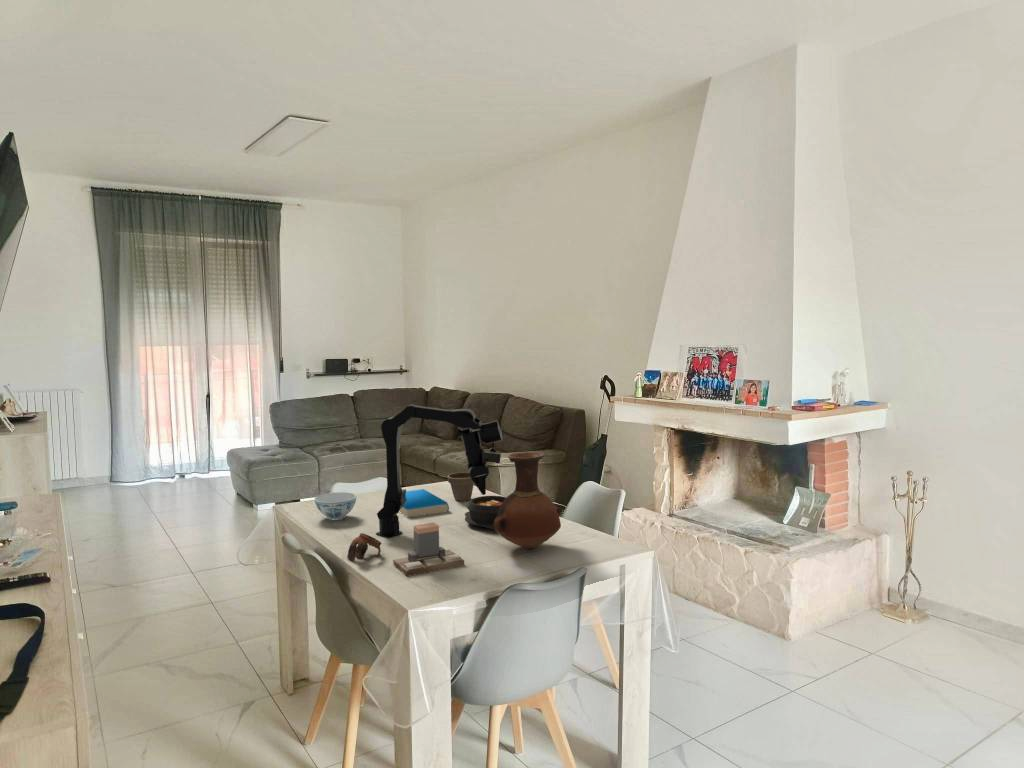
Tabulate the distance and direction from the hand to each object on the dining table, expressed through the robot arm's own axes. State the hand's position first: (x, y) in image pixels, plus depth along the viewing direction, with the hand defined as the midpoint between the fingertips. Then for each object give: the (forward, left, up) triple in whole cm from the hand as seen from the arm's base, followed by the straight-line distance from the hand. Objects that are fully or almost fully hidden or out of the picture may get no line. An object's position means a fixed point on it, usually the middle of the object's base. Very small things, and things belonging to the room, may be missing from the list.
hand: (483, 491), depth 233 cm
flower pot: (-38, +31, -15) cm, 52 cm away
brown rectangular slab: (+5, -31, -15) cm, 35 cm away
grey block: (+4, -31, -13) cm, 34 cm away
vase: (+20, -2, -15) cm, 25 cm away
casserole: (-7, +12, -15) cm, 21 cm away
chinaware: (-58, -16, -15) cm, 62 cm away
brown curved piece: (-15, -39, -15) cm, 44 cm away
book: (-45, +12, -16) cm, 49 cm away
